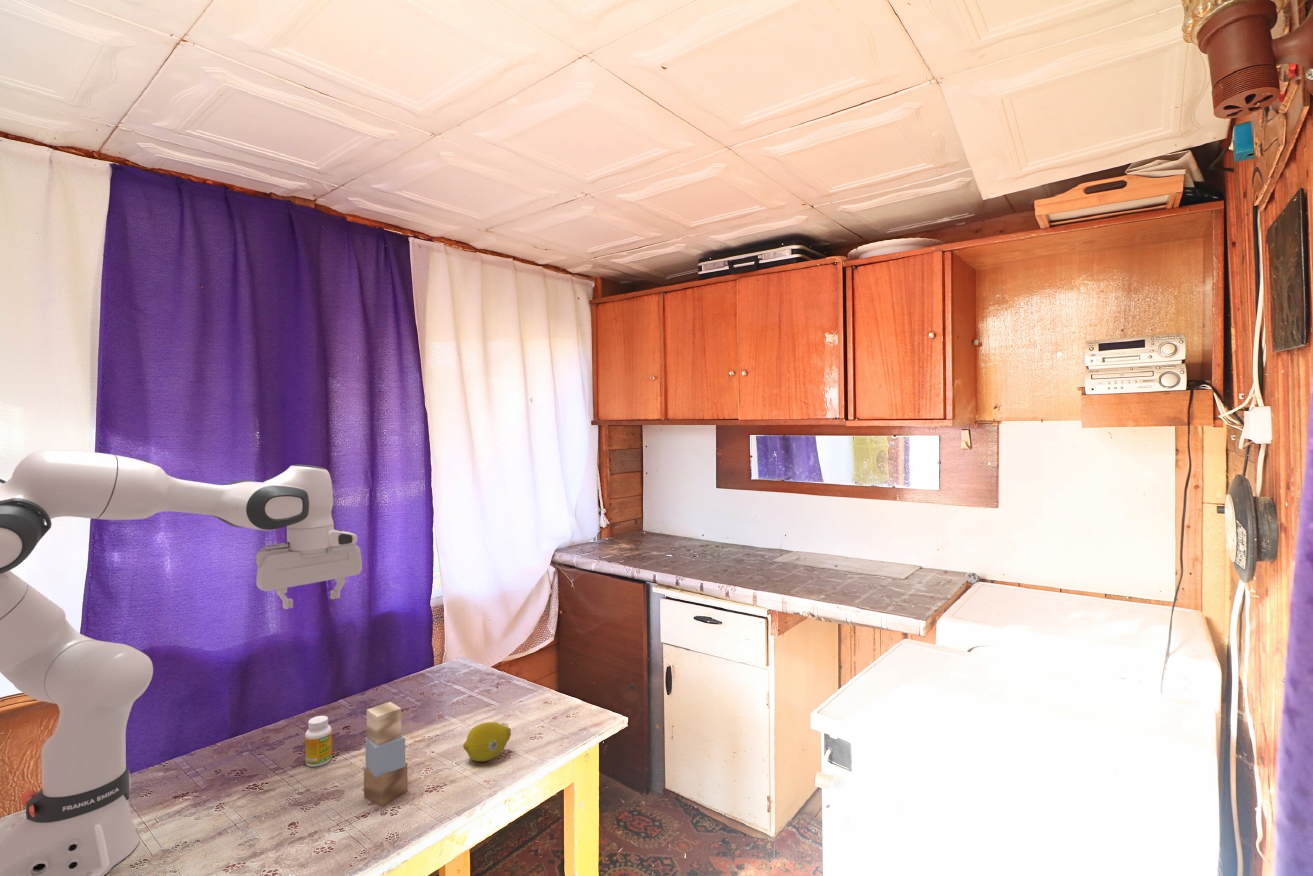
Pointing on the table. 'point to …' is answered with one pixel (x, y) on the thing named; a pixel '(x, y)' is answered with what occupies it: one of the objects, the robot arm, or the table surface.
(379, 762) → the top block
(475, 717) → the table surface
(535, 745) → the table surface
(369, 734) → the maple block
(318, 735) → the supplement bottle
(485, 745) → the lemon
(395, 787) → the bottom block
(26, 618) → the robot arm
